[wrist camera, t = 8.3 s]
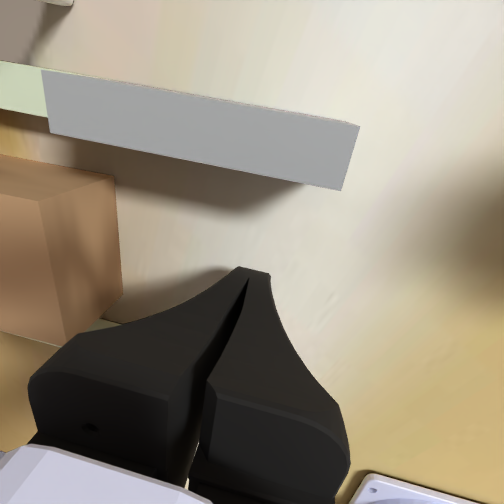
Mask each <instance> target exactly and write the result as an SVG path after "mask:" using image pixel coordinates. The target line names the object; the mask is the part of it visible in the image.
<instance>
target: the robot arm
mask: <svg viewBox="0 0 504 504" xmlns="http://www.w3.org/2000/svg"><path fill="white" fill-rule="evenodd" d="M270 280H271V276H270V275H269V273H265V272H261V271H256V270H252V269H248V268H244V267H239V266H238V267H237V268H235V269H234V270H233V271H231V272H230V273H229V274H228V275H226V276H225V277H224V278H222V279H221V280H220V281H218V282H217V283H215V284H214V285H213V286H211V287H210V288H208V289H207V290H205V291H204V292H202V293H200V294H199V295H197V296H195V297H194V298H192V299H190V300H188V301H186V302H184V303H182V304H180V305H178V306H176V307H174V308H171V309H169V310H166V311H163V312H161V313H158V314H155V315H153V316H150V317H147V318H144V319H141V320H137V321H134V322H130V323H126V324H122V325H118V326H114V327H109V328H104V329H99V330H94V331H89V332H83V333H77V334H76V335H75V336H74V337H73V338H72V339H70V340H69V341H68V342H67V343H66V344H64V345H63V346H62V347H61V348H60V349H59V350H58V351H57V352H56V353H55V354H54V355H53V356H52V357H51V358H50V359H49V360H48V361H47V362H46V363H45V364H44V365H43V366H41V367H40V368H39V369H38V370H37V371H36V372H35V373H34V374H33V375H32V376H31V377H30V380H29V383H28V396H29V401H30V405H31V408H32V412H33V415H34V419H35V422H36V426H37V429H38V432H37V433H36V434H35V435H34V436H33V438H32V439H31V440H30V441H29V442H28V443H27V445H24V446H21V447H19V448H16V449H14V450H11V451H9V452H7V453H6V452H3V451H0V504H335V495H336V494H337V492H338V490H339V488H340V487H341V485H342V483H343V481H344V479H345V478H346V476H347V474H348V471H349V468H350V464H351V462H350V450H349V443H348V438H347V434H346V430H345V425H344V421H343V418H342V414H341V411H340V408H339V405H338V403H337V402H336V401H335V400H334V399H333V398H332V397H331V396H330V395H329V394H328V393H327V391H326V390H325V389H324V388H323V387H322V386H321V385H320V384H319V383H318V382H317V380H316V379H315V378H314V377H313V375H312V374H311V373H310V371H309V370H308V369H307V367H306V366H305V364H304V363H303V361H302V360H301V358H300V357H299V355H298V354H297V352H296V351H295V349H294V347H293V346H292V344H291V342H290V340H289V338H288V336H287V334H286V332H285V330H284V328H283V326H282V323H281V321H280V318H279V315H278V313H277V310H276V306H275V303H274V299H273V295H272V290H271V282H270ZM198 442H199V444H198ZM197 445H198V447H197ZM196 448H197V450H196ZM195 452H196V453H195ZM194 455H195V456H194ZM193 458H194V459H193ZM192 461H193V462H192ZM187 478H189V487H188V490H187V489H184V488H185V484H186V481H187ZM349 504H479V503H475V502H472V501H468V500H465V499H462V498H458V497H455V496H451V495H448V494H444V493H441V492H437V491H434V490H430V489H427V488H424V487H420V486H417V485H413V484H410V483H406V482H403V481H399V480H396V479H393V478H389V477H386V476H382V475H379V474H374V473H371V474H368V475H367V476H365V478H364V480H363V481H362V483H361V485H360V486H359V488H358V489H357V491H356V493H355V494H354V496H353V497H352V499H351V501H350V502H349Z"/></svg>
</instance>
